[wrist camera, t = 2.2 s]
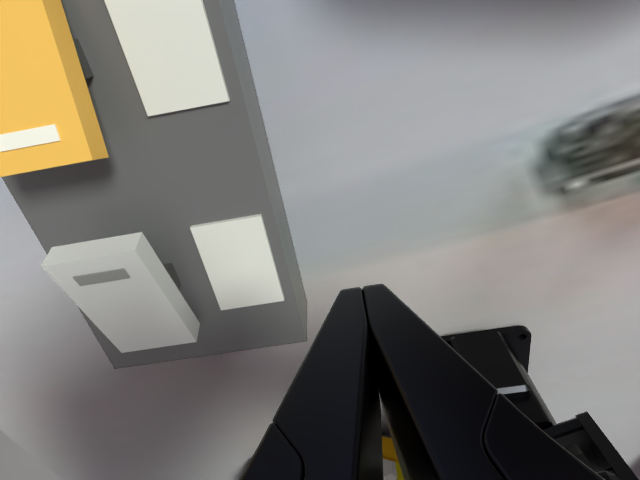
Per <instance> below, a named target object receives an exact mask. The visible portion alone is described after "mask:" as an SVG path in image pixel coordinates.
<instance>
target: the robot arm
mask: <svg viewBox="0 0 640 480" xmlns="http://www.w3.org/2000/svg"><path fill="white" fill-rule="evenodd" d="M520 334H522V335H520ZM530 343H531V333H530V331H529V330H528V328H527V327H525V326H515V327H508V328H501V329H494V330H487V331H480V332H473V333H466V334H459V335H451V336H444V337H440V336H439V335H438V334H437V333H436V332H435V331H434V330H432V329H431V328H430V327H429V326H428V325H427V324H426V323H425V322H424V321H423V320H422V319H421V318H420V317H418V316H417V315H416V314H415V313H414V312H413V311H412V310H411V309H410V308H409V307H408V306H407V305H405V304H404V303H403V302H402V301H401V300H400V299H399V298H398V297H397V296H396V295H395V294H394V293H393V292H391V291H390V290H389V289H388V288H387V287H386V286H385V285H383V284H376V285H369V286H364V287H363V289H361V288H360V287H356V288H350V289H343V290H341V291H340V293H339V294H338V296H337V298H336V300H335V302H334V304H333V306H332V308H331V310H330V312H329V313H328V315H327V317H326V319H325V321H324V323H323V325H322V327H321V329H320V331H319V332H318V334H317V336H316V338H315V340H314V342H313V344H312V346H311V348H310V350H309V351H308V353H307V355H306V357H305V359H304V361H303V363H302V365H301V367H300V369H299V370H298V372H297V374H296V376H295V378H294V380H293V382H292V384H291V386H290V388H289V390H288V391H287V393H286V395H285V397H284V399H283V401H282V403H281V405H280V407H279V409H278V410H277V412H276V414H275V416H274V418H273V423H271V424H270V425H269V427H268V429H267V431H266V433H265V435H264V437H263V439H262V441H261V442H260V444H259V446H258V448H257V450H256V451H255V453H254V455H253V457H252V459H251V460H250V462H249V464H248V466H247V467H246V469H245V471H244V473H243V474H242V476H241V478H240V479H239V480H384V477H383V452H382V426H381V407H380V399H381V403H382V407H383V410H384V414H385V417H386V421H387V424H388V427H389V431H390V434H391V437H392V441H393V444H394V447H395V451H396V454H397V457H398V461H399V464H400V467H401V471H402V474H403V477H404V480H638V478H637V477H636V476H635V474H634V473H633V472H632V470H631V469H630V468H629V466H628V465H627V464H626V462H625V461H624V460H623V458H622V457H621V456H620V454H619V453H618V452H617V451H616V449H615V448H614V447H613V445H612V444H611V443H610V441H609V440H608V439H607V437H606V436H605V435H604V433H603V432H602V431H601V429H600V428H599V427H598V425H597V424H596V423H595V421H594V420H593V419H592V417H591V416H590V415H589V413H588V412H584V413H581V414H578V415H575V416H576V418H573V419H570V420H568V421H565V422H562V423H559V424H556V422H555V420H554V418H553V417H552V415H551V413H550V412H549V410H548V408H547V406H546V405H545V403H544V401H543V399H542V398H541V396H540V394H539V393H538V391H537V389H536V387H535V386H534V384H533V382H532V380H531V379H530V377H529V375H528V364H529V354H530ZM379 394H380V396H379Z"/></svg>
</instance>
